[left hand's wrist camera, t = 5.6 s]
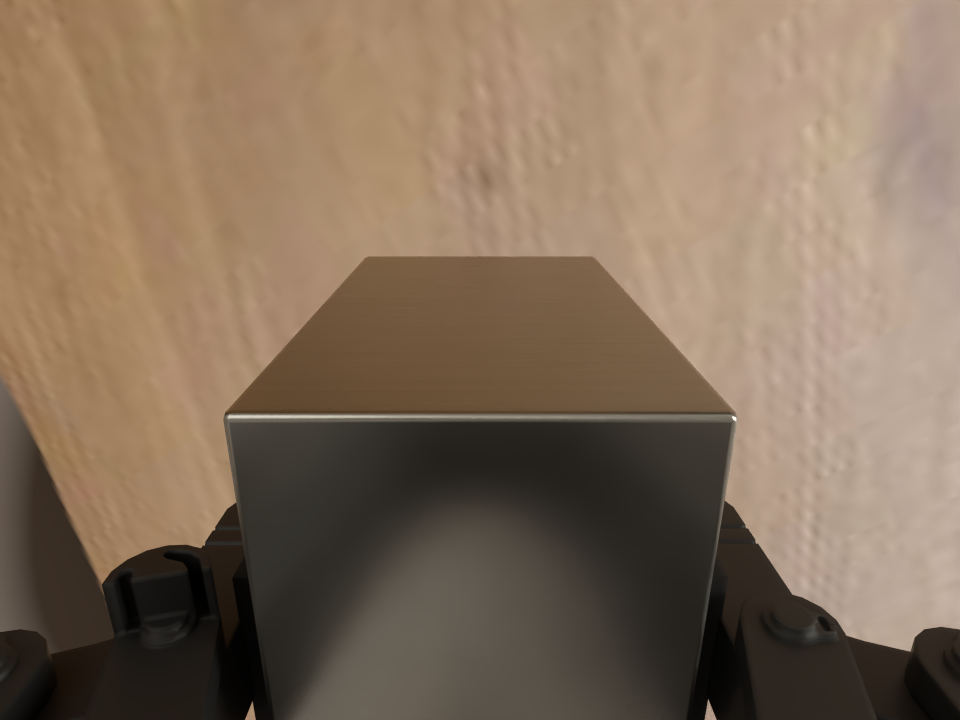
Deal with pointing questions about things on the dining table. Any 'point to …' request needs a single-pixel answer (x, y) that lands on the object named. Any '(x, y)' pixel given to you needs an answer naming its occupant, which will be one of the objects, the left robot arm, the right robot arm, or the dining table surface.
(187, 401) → the dining table surface
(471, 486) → the bar
